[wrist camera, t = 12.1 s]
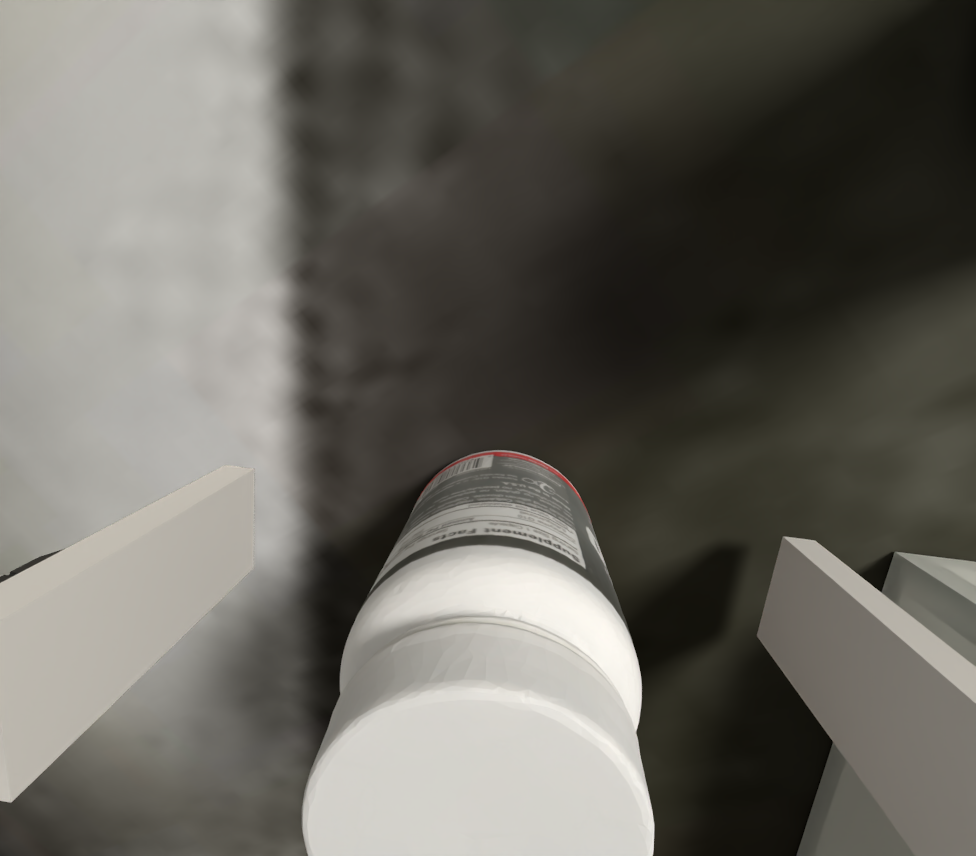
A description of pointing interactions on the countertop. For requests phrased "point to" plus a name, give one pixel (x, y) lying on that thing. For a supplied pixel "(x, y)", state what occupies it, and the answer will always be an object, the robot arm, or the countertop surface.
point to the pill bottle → (486, 685)
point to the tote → (841, 794)
